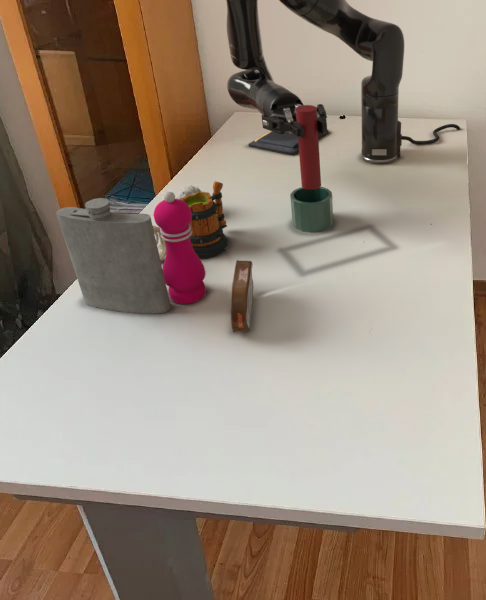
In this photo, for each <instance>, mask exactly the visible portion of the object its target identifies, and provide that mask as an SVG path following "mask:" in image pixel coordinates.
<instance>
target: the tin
mask: <svg viewBox="0 0 486 600" xmlns="http://www.w3.org/2000/svg"><path fill="white" fill-rule="evenodd" d="M253 306H254V280H253V262H252V260H239V259H236V261H235V266H234V272H233V278H232V283H231V291H230V324H231V330H232V333H236V332H237V333H238V332H241V333H242V332H243V333H244V332H245V333H246V332H249V331H250V328H251V322H252V314H253Z"/></svg>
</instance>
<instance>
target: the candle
mask: <svg viewBox="0 0 486 600" xmlns="http://www.w3.org/2000/svg"><path fill="white" fill-rule="evenodd" d="M316 107H317V106H316V105H311V104H303V106H299V107H297V108H296V119H297V123H299V124H300V125H302V126H303V127H304V138H299V137H298V145H299V153H298V155H299V156H298V157H299V168H300V169H299V170H300V181H301V183H300V184H301V187H303V188H304V189H308V190H313V189H317V188H319V187H322V178H321V177H322V176H321V159H320V143H319V140H320V139H318V122H317V108H316Z"/></svg>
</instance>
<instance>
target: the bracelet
mask: <svg viewBox="0 0 486 600" xmlns="http://www.w3.org/2000/svg"><path fill="white" fill-rule="evenodd" d="M152 226H153V230H154V234H155V239H156V243H157V248H158V250H161V251H159V256H160V261H161V262H162V261H163V260H164V259H165V258H166V243H165V240H163V239H162V238H161V233H160V229H161V228H160V227H159V226H157V225H153V224H152ZM159 243H160V244H159Z"/></svg>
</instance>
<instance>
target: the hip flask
mask: <svg viewBox="0 0 486 600" xmlns="http://www.w3.org/2000/svg"><path fill="white" fill-rule="evenodd" d="M84 207H85V208H80V207H75V206H66V207H62V208H60V209H58V210H57V211H56V213H55V214H56V217H57V220H58V223H59V226H60V229H61V233H62V236H63V239H64V242H65V245H66V248H67V251H68V254H69V257H70V261H71V263H72V267H73V269H74V274H75V275H76V279H77V282H78V285H79V289H80V292H81V294H82V297H83V301H84V303H85V305H87V306H90V307H94V308H99V309H103V310H107V311H108V310H109V311H115V312H121V313H122V312H123V313H132V314H165V313H167V312H168V311H170V310H171V308H172V307H171V306H172V305H171V302H170V295H169V291H168V286H167V285H166V283H165V279H164V274H163V265H162V260H161V261H160V256H159V253H160V251H159V248H158V244H157V243H156V236H155V234H154V230H153V226H154V225H153V221H152V218H151V214H148V213H127V212H126V213H125V212H124V213H123V212H112V211H111V209H110V207H111V202H110V200H109V199H108V198H103V197H98V198H93V199H90V200H88V201H86V202H85V204H84ZM152 225H153V226H152Z"/></svg>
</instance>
